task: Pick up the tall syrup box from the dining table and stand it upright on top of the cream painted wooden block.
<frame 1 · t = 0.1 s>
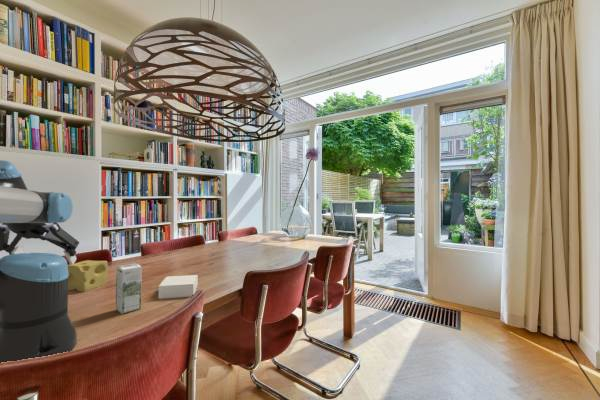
hand: (49, 262, 89), 15 cm above the table, tool tilted 35°, fingers open, 13 cm apart
syrup box: (128, 310, 89), on the table
cream block: (179, 292, 106), on the table
cheese: (86, 287, 110), on the table
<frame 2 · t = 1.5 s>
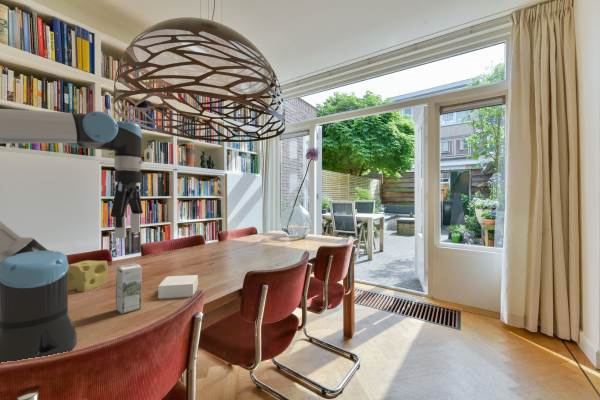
hand: (128, 235, 89), 25 cm above the table, tool pointing down, fingers open, 13 cm apart
nothing on the table moved.
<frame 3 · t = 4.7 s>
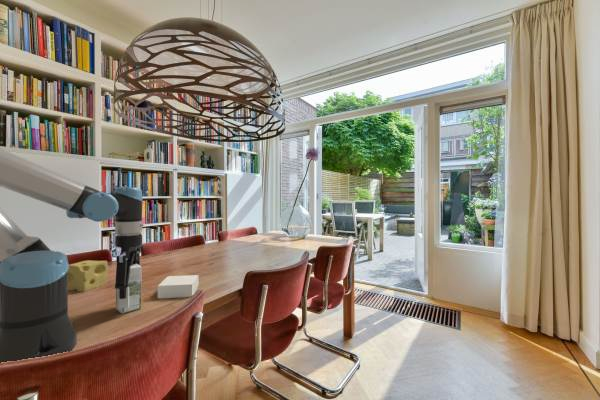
hand: (128, 302, 89), 2 cm above the table, tool pointing down, fingers closed on syrup box, 8 cm apart
syrup box: (128, 309, 89), on the table, touching gripper
everything else where it was.
when the fingers open (9 cm above the table, at t = 10.8 s): syrup box drops 2 cm, resting on cream block.
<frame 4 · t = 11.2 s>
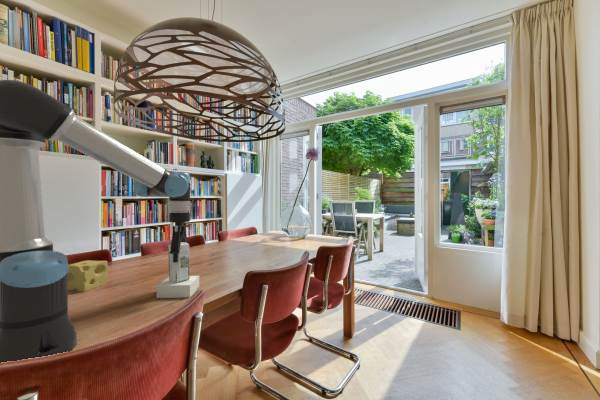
hand: (179, 266, 106), 10 cm above the table, tool pointing down, fingers open, 13 cm apart
syrup box: (179, 280, 106), point 4 cm above the table, touching cream block
cream block: (179, 293, 106), on the table, touching syrup box
everything else where it was.
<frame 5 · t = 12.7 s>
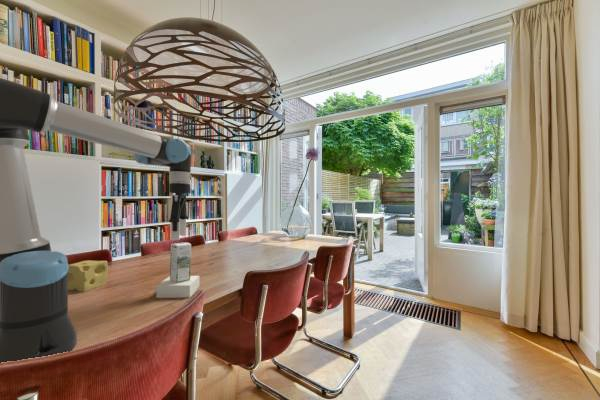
hand: (178, 237, 105), 21 cm above the table, tool pointing down, fingers open, 13 cm apart
nothing on the table moved.
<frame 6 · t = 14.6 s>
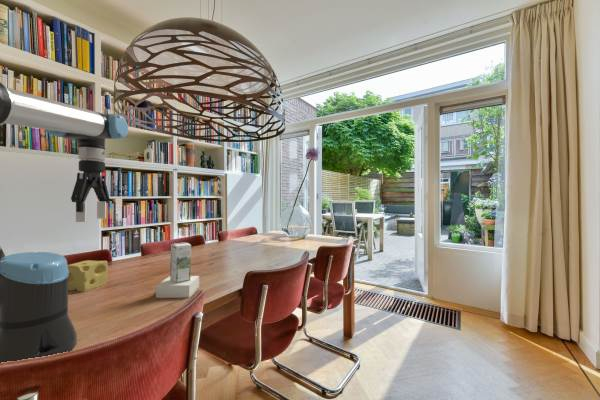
hand: (92, 220, 97), 29 cm above the table, tool pointing down, fingers open, 13 cm apart
nothing on the table moved.
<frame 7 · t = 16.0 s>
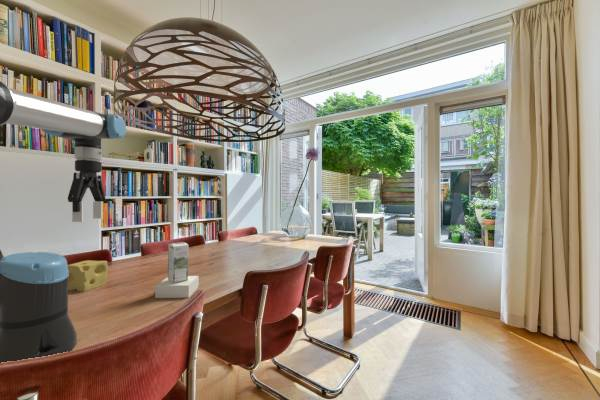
hand: (88, 220, 96), 29 cm above the table, tool pointing down, fingers open, 13 cm apart
at the end: syrup box inside the target area on the cream block (0.0 cm from its centre), point 5.0 cm above the cream block's base; syrup box tilted 3°; the gripper is holding nothing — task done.
